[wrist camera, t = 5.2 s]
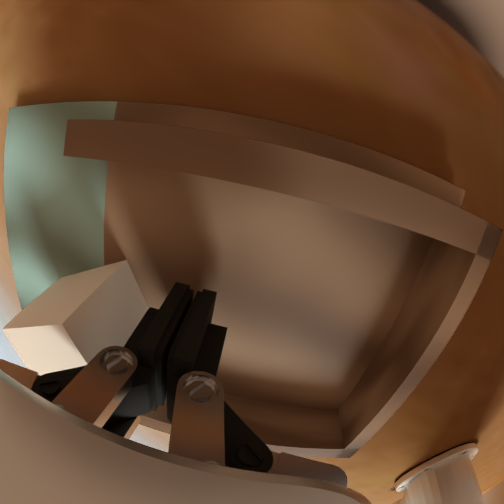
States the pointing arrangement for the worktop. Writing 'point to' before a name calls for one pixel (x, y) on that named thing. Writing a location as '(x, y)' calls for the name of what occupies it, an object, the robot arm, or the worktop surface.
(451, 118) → the worktop surface
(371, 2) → the worktop surface
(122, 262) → the cream block
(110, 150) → the walnut cubby
